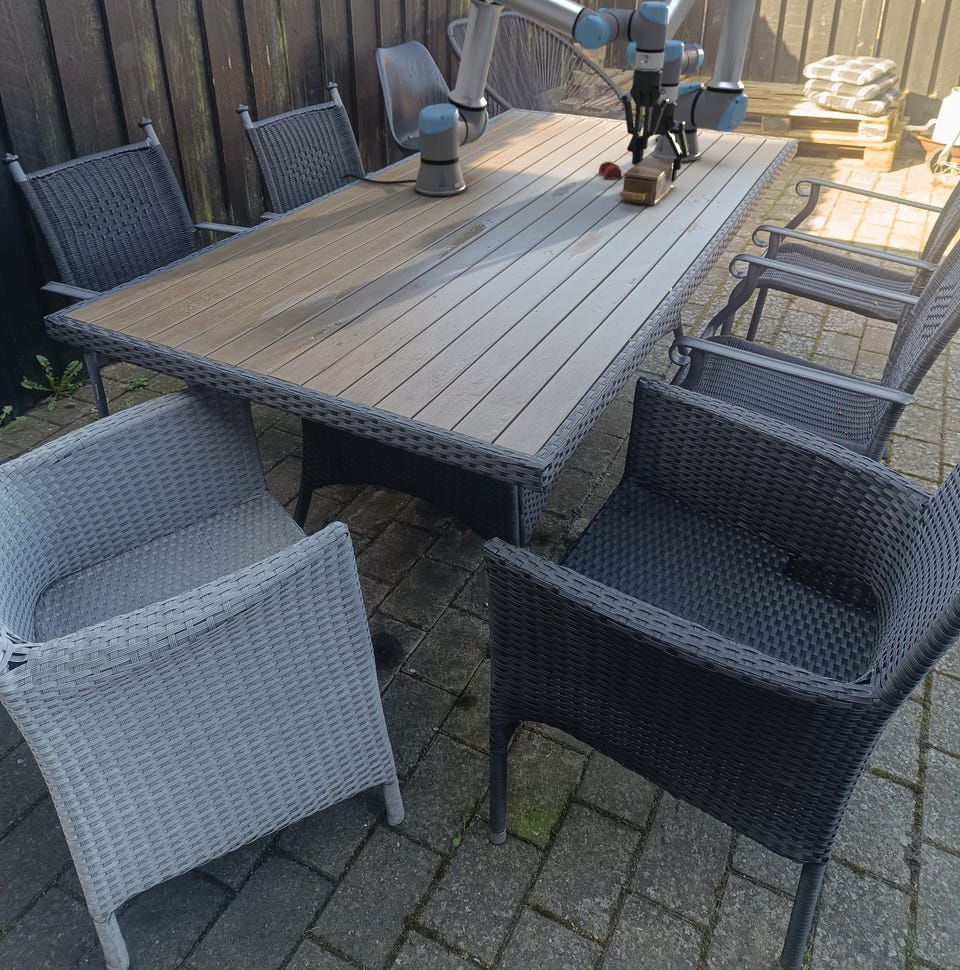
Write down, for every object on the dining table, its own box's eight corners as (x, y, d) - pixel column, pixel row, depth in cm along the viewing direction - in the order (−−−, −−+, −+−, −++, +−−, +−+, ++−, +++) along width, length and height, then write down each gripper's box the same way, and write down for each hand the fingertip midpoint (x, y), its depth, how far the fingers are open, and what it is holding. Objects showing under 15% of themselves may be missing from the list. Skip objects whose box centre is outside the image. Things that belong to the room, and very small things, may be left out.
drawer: (645, 209, 240) (647, 187, 237) (616, 204, 243) (618, 183, 240) (668, 187, 257) (671, 166, 254) (640, 183, 260) (643, 163, 257)
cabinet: (654, 205, 246) (657, 177, 241) (621, 201, 249) (624, 173, 245) (672, 187, 260) (676, 160, 255) (641, 183, 264) (644, 157, 259)
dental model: (614, 158, 272) (623, 164, 265) (613, 171, 274) (622, 178, 268) (597, 159, 271) (606, 166, 264) (597, 173, 273) (606, 180, 267)
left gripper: (620, 69, 223) (612, 161, 237) (668, 73, 218) (657, 167, 232) (629, 64, 228) (620, 155, 242) (676, 68, 224) (664, 160, 237)
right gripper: (620, 99, 245) (613, 176, 258) (700, 107, 237) (689, 186, 250) (628, 94, 251) (621, 170, 264) (707, 102, 242) (695, 179, 255)
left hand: (638, 160), depth 237 cm, fingers closed
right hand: (654, 178), depth 257 cm, fingers open, 11 cm apart
